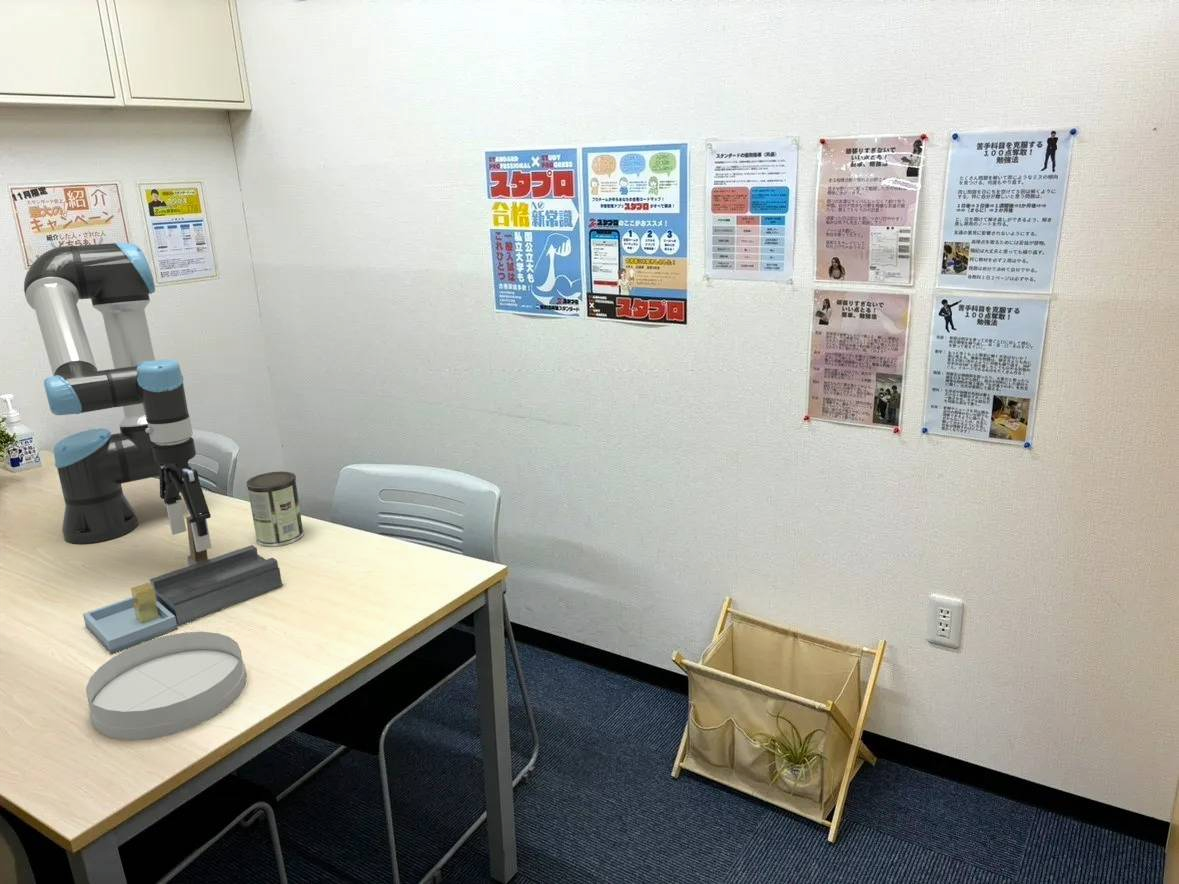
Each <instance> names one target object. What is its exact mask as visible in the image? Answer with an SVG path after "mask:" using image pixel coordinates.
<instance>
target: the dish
mask: <svg viewBox="0 0 1179 884" xmlns="http://www.w3.org/2000/svg"><path fill="white" fill-rule="evenodd" d="M242 656H243V655H242V650H241V647H240V645H239V643H238V642H237V641H235V639H233V638H231V637H230V636H228V635H225V634H221V633H218V632H210V631H194V632H193V631H190V632H189V631H188V632H187V631H186V632H179V633H175V634H170V635H165V636H159V637H156V638H152V639H150V640H147V641H144V642H142V643H139V644H137V645H134V646H131V647H129V648H126V649H124V651H122V652H120V653H117V655H115V656H113V657H111V658H110V659H109V660H107V661H106V662H105V663H103V664H102V665H101V666H98V669H96V670H95V672H94V673H93V674H92V675H91V676H90V677H89V680H88V682H87V684H86V687H85V692H86V699H87V701H88V711H89V716H90V721H91V725H92V726H93V728H95V730H96V731H97V732H98V733H99V734H101V735H104V736H107V737H109V738H110V739H117V740H124V741H139V740H152V739H157V738H161V737H166V736H171V735H174V734H177V733H179V732H183V731H186V730H188V729H191V728H194V727H196V726H198V725H201V724H202V723H205V722H206V721H209V720H211V719H213V718H214V717H216V716H217V715H218V714H220V713H221V712H223V711H224V710H226V709H228V707H230V706H231V705H232V703H234V701H236V700H237V698H238V697H240V695H241V693H242V692H243V690H244V688H245V687H246V684H247V683H246V682H247V681H246V680H247V672H246V671H247V670H246V664H245V663H244V660H243V657H242Z"/></svg>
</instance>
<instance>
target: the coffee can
mask: <svg viewBox="0 0 1179 884" xmlns="http://www.w3.org/2000/svg"><path fill="white" fill-rule="evenodd" d="M296 477H297V476H296V474H295V473H294V472H289V471H270V472H265V473H261V474H257V475H255V476H253V477H251V478H249V479H248V480H247V481H246V483H245V484H246V487H247V492H248V497H249V498H248V499H249V504H250V511H251V515H252V521H253V527H254V532H255V538H256V543H257V544H258V545H259V546H261V547H281V546H286V545H289V544H292V543H295V542H296V541H299V540H300V539H302V538H303V536H304V533H305V532H304V527H303V522H302V515H301V509H300V503H299V502H300V501H299V496H298V495H299V494H298V489H297V488H298V487H297V478H296Z"/></svg>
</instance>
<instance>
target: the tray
mask: <svg viewBox="0 0 1179 884" xmlns="http://www.w3.org/2000/svg"><path fill="white" fill-rule="evenodd" d="M133 603H134V601H133V597H132V596H131V597H127V598H124V599H122V600H119V601H115V602H113V603H111V604H107V605H105V606H101V607H99V608H95V609H93V610H91V611H88V612H84V613H82V617H83V619H84V625H85V627H86V628H87V629H88V631H90V633H92V635H94V637H95V638H96V639H97V640H98V641H99V642H100V643H101V644H102V645H103V647H105V649H106V650H107V651H108V652H109V653H110V654H111V655H113V654H115V653H118V652H121V651H123V650H124V651H125V650H127V649H129V648H132V647H134V646H137V645H139V644H142V643H144V642H147V641H150V640H153V639H156V638H159V637H161V636H162V635H165V634H168V633H171V632H173V631H176V630H178V625H177V623H176V618H175V616H174V615H173V614H172V613H171V612H169V611H168V610H167V609H166V608H165V607H164V606H163V605H161V604H160V603H159V602H158V601H157V603H156V605H157V610H158V615H159V618H156V619H153V620H150V621H148V622H145V623H142V624H141V622H140V621H139V620H138V619H137V618H136V615H135V611H134V606H133Z"/></svg>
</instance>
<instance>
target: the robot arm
mask: <svg viewBox="0 0 1179 884" xmlns="http://www.w3.org/2000/svg"><path fill="white" fill-rule="evenodd" d="M26 272H27V273H26V274H25V277H24V282H23V291H24V296H25V300H26V302H27V304H28V305H29V306H30V308H31V309H33V310H34V311H35V314H36V318H37V321H38V326H39V329H40V333H41V337H42V339H43V343H44V347H45V350H46V354H47V358H48V362H49V365H50V369H51V372H52V376H50V377H46V378H45V379H44V380H43V386H44V390H45V393H46V397H47V401H48V405H49V411H50V412H51V414H53V415H55V416H67V415H80V414H83V413H89V412H95V411H100V410H101V411H103V410H107V409H113V408H121V407H122V409H123V413H124V418H123V420H121V422H120V423H119V424H118V427H119V431H120V432H119V433H118V432H117V433H112V432H111V431H110V430H109V429H107V428H96V429H95V428H93V429H88V430H84V431H79V432H76V433H74V434H71V435H69V436H68V435H67V436H66V437H64V438H63V439H61V440H60V441H58V442H57V443H56V444H55V445H54V448H53V457H54V465H55V468H56V469H57V472H58V473H57V474H58V477H59V482H60V487H61V490H62V491H61V493H62V496H63V500H64V504H65V507H64V515H63V520H62V521H63V522H62V531H61V532H62V534H63V539H64V540H65V542H67V543H71V544H93V543H101V542H105V541H109V540H112V539H115V538H119V537H122V536H124V535H126V534H128V533H130V532H132V531H134V530H135V529H136V528H137V526H138V524H139V521H138V516H137V512H136V511H135V510H134V509H133V507H132V505H131V504H130V502H129V500H128V499H127V497H126V495H124V491H123V487H122V484H126V483H131V482H136V481H141V480H146V479H151V478H156V477H159V497H160V499H161V500H163V502H164V504H165V506H166V507H165V508H166V511H167V516H168V521H169V527H170V532H171V535H172V536H175V535H178V534H181V533H184V532H187V524H186V521H185V516H184V510H183V507H182V505H183V504H182V502H181V500H182V501H184V503H185V505H186V507H187V510H188V512H189V515H190V516H191V517H192V519H190V520H189V523H191V526H192V531H193V537H194V542H195V547H196V551H197V552H200V551H203V550H206V549H207V550H208V549H212V542H211V539H210V537H211V536H210V531H209V527H208V522H207V519H210V518H211V513H210V510H209V509H210V508H209V507H208V504H207V500H206V497H205V493H204V492H203V489H202V486H201V482H200V478H199V474H198V470H197V469H195V468H194V469H192V467H191V466H190V464H189V461H190V460H193V458H194V457H196V455H197V452H196V446H195V439H194V438H193V437H192V436H193V434H194V432H193V427H192V423H191V422H192V421H191V417H190V416H191V415H190V414H189V410H188V404H187V403H188V402H187V398H186V392H185V391H186V390H185V386H184V375H183V374H182V371H181V366H180V363H178V362H177V361H176V360H173V359H155V354H154V353H155V352H154V349H153V344H152V339H151V335H150V330H149V329H150V328H149V325H148V320H147V314H146V311H145V309H146V308H147V307H148V305H149V304H150V302H151V299H150V295H152V294H153V293H155V292H156V286H155V282H154V281H155V280H154V277H153V273H152V270H151V268H150V266H149V262H148V259H147V257H146V255H145V253H144V251H143V250H142V249H141V247H140V246H139V245H137V244H135V243H132V242H131V243H130V242H128V243H127V242H111V243H98V244H97V243H95V244H85V245H84V244H83V245H66V246H65V245H62V246H57V247H54V248H51V249H49V250H47V251H46V252H44V253H42V255H40V256H39V257H37V258H36V259H35V260H34V262H33V263H32V264H31V265H30V267H29V268H28V271H26ZM87 299H88V300H89V299H90V301H91V304H92V307H93V308H94V309H95V310H97V311H98V312H100V313H101V314H102V319H103V323H104V327H105V332H106V337H107V340H108V341H107V342H108V346H109V350H110V354H111V360H112V363H113V364H112V365H113V368H111V369H103V370H98V368H97V365H96V361H95V358H94V356H93V352H92V349H91V346H90V343H89V339H88V336H87V334H86V329H85V327H84V324H83V323H84V322H83V321H82V317H81V315H80V314H81V313H80V311H79V308H78V303H79V300H87ZM180 493H181V495H180Z"/></svg>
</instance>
